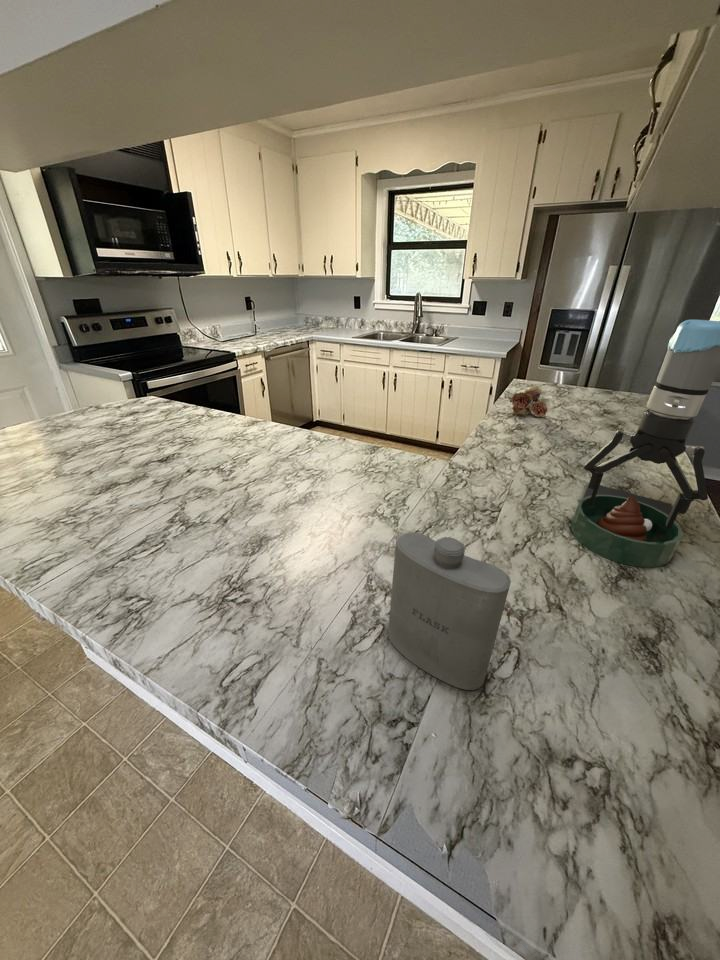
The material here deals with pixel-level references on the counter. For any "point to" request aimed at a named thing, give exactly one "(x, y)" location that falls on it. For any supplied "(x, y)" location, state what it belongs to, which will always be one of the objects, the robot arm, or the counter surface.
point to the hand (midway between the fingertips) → (627, 513)
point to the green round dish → (622, 548)
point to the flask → (445, 608)
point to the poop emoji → (626, 521)
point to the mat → (609, 491)
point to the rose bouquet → (529, 402)
